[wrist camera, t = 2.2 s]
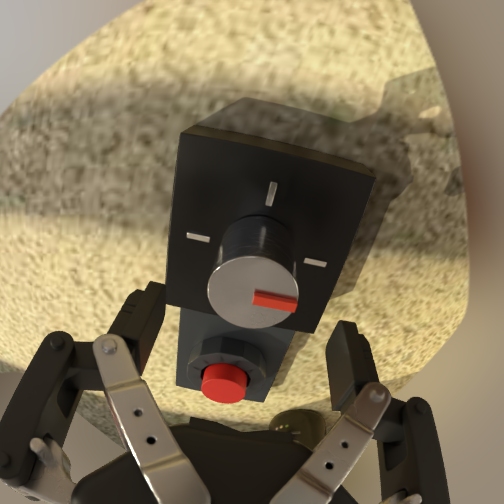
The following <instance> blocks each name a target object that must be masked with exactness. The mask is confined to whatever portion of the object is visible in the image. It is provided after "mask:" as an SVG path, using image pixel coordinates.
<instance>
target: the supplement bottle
mask: <svg viewBox="0 0 504 504" xmlns="http://www.w3.org/2000/svg"><path fill="white" fill-rule="evenodd" d="M269 430H272V431H280V432H290V433H293V440H295V441H298V442H300V443H302V444H303V445H305V446H307V447H308V448H309V449H311V450H312V451H313V450H314V449H315V447H316V446H317V445H318V444H319V443H320V442H321V440H322V439H323V438H324V437H325V435H326V427H325V421H324V419H323V417H322V416H321V415H319V414H318V413H316V412H313V411H309V410H291V411H286V412H283V413H280V414H278V415H277V416H275V417H274V418H273V419H272V420H271V422H270V424H269Z"/></svg>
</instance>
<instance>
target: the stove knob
mask: <svg viewBox="0 0 504 504" xmlns="http://www.w3.org/2000/svg"><path fill="white" fill-rule="evenodd" d="M207 294H208V298H209V301H210V304H211V306H212V307H213V309H214V310H215V311H216V313H217V314H218V315H219V316H220V317H222V318H223V319H224V320H226V321H228V322H230V323H232V324H234V325H237V326H240V327H244V328H253V329H257V328H266V327H270V326H273V325H276V324H278V323H280V322H281V321H283V320H285V319H286V318H287V317H288V316H289V315H290V314H291V313H292V312H295V310H296V307H297V301H298V281H297V269H296V258H295V247H294V242H293V239H292V236H291V234H290V233H289V231H288V230H287V229H286V228H285V227H284V226H283V225H282V224H280V223H279V222H277V221H276V220H273V219H271V218H268V217H263V216H250V217H245V218H242V219H240V220H238V221H236V222H234V223H233V224H232V225H231V226H230V227H229V228H228V229H227V230H226V231H225V233H224V235H223V237H222V240H221V243H220V246H219V250H218V253H217V256H216V259H215V262H214V266H213V269H212V272H211V275H210V278H209V282H208V286H207Z"/></svg>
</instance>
